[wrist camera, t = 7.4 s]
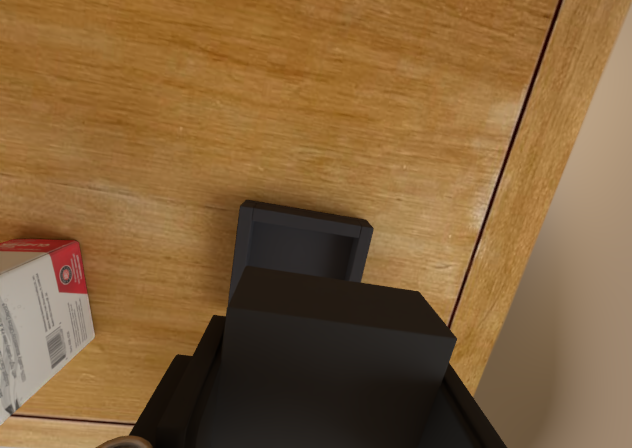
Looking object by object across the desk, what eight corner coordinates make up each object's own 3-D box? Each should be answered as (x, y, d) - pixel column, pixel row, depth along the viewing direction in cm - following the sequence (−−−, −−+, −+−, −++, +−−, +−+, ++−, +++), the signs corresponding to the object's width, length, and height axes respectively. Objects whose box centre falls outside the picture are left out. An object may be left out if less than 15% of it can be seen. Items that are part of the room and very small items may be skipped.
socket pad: (366, 219, 22) (374, 228, 20) (342, 324, 25) (346, 341, 23) (246, 199, 22) (239, 205, 19) (232, 309, 24) (225, 326, 22)
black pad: (419, 291, 10) (458, 338, 8) (378, 425, 12) (399, 503, 9) (245, 264, 10) (227, 307, 7) (225, 410, 11) (204, 488, 9)
